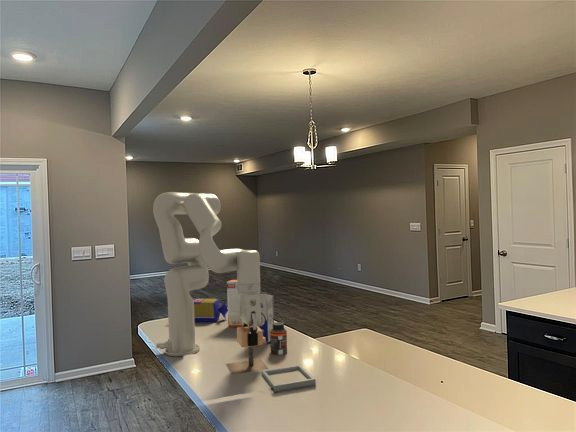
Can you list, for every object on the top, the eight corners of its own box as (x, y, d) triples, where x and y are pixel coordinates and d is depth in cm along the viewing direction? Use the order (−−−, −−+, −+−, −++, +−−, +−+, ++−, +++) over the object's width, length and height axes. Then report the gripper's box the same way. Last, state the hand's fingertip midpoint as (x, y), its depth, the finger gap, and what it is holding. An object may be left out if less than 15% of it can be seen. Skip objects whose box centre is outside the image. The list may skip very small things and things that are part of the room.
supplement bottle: (285, 358, 145) (284, 325, 145) (268, 357, 146) (268, 325, 146) (288, 352, 151) (287, 321, 151) (272, 352, 152) (272, 321, 152)
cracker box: (261, 325, 191) (259, 279, 191) (255, 328, 185) (254, 281, 185) (233, 323, 195) (232, 279, 195) (227, 326, 190) (226, 281, 190)
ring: (241, 347, 131) (241, 333, 131) (237, 341, 138) (236, 327, 138) (267, 344, 134) (267, 330, 134) (262, 338, 141) (261, 325, 141)
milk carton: (251, 344, 162) (249, 293, 162) (259, 339, 168) (257, 290, 169) (267, 345, 160) (266, 293, 160) (274, 340, 166) (273, 290, 166)
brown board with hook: (231, 377, 128) (231, 356, 128) (225, 366, 138) (225, 347, 138) (268, 371, 132) (268, 351, 132) (260, 361, 142) (259, 342, 142)
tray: (274, 393, 116) (274, 386, 116) (262, 377, 128) (261, 370, 128) (315, 385, 120) (315, 379, 120) (300, 371, 132) (299, 364, 132)
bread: (181, 318, 210) (181, 297, 210) (229, 317, 207) (229, 297, 207) (174, 323, 200) (173, 301, 200) (224, 322, 197) (223, 301, 197)
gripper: (267, 291, 129) (268, 348, 129) (253, 283, 145) (254, 333, 145) (243, 293, 126) (244, 351, 126) (232, 284, 143) (233, 336, 143)
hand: (249, 341), depth 136 cm, fingers closed on ring, 7 cm apart
